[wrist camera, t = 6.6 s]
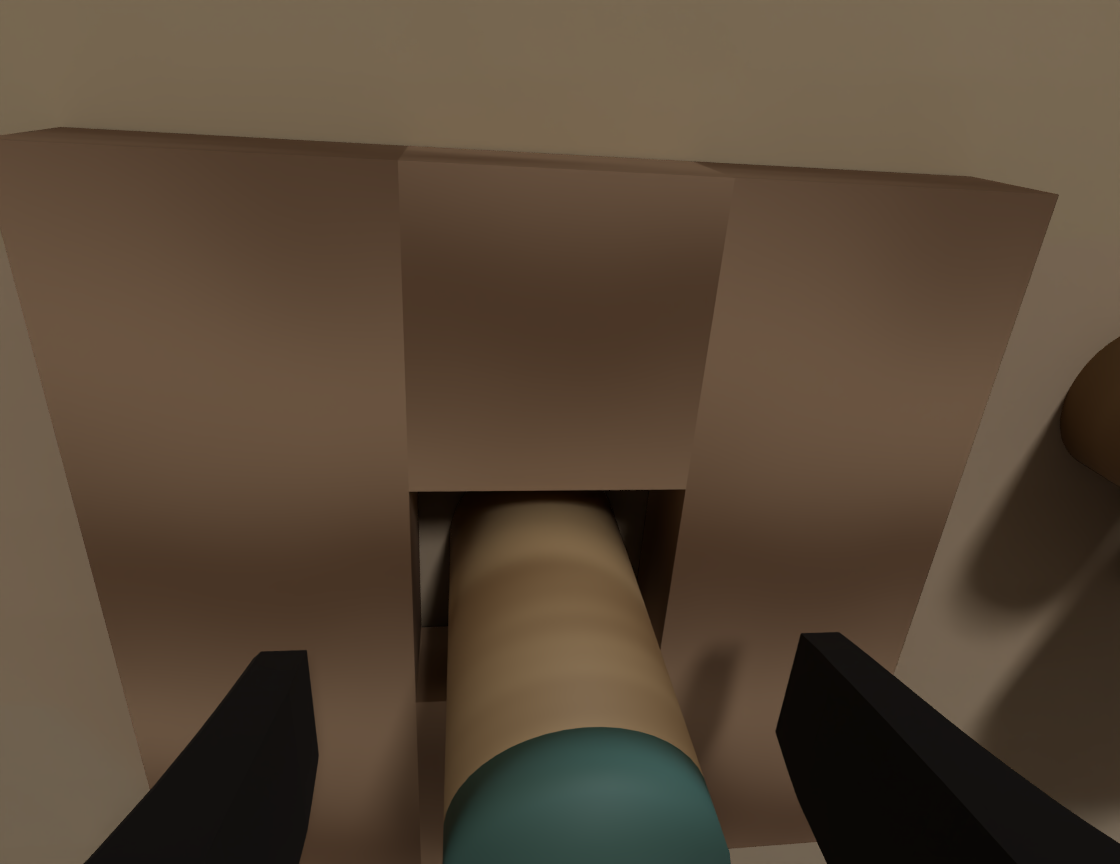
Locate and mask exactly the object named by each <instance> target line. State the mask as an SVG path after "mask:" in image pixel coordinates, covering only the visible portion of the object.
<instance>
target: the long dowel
mask: <svg viewBox="0 0 1120 864" xmlns="http://www.w3.org/2000/svg"><path fill="white" fill-rule="evenodd" d="M442 864H731V863H730V853H729V850H728V847H727V844H726V840H725V838H724V835H723V832H722V829H721V826H720V823H719V820H718V817H717V814H716V811H715V808H714V805H713V803H712V800H711V797H710V794H709V791H708V788H707V785H706V782H705V779H704V776H703V773H702V770H701V767H700V765H699V762H698V759H697V756H696V753H695V750H694V747H693V744H692V741H691V738H690V735H689V732H688V730H687V727H686V724H685V721H684V718H683V715H682V712H681V709H680V706H679V703H678V700H677V697H676V694H675V692H674V689H673V686H672V683H671V680H670V677H669V674H668V671H667V668H666V665H665V662H664V659H663V657H662V654H661V651H660V648H659V645H658V642H657V639H656V636H655V633H654V630H653V627H652V624H651V621H650V619H649V616H648V613H647V610H646V607H645V604H644V601H643V598H642V595H641V592H640V589H639V586H638V584H637V581H636V578H635V575H634V572H633V569H632V566H631V563H630V560H629V557H628V554H627V551H626V548H625V546H624V543H623V540H622V537H621V534H620V531H619V528H618V525H617V522H616V519H615V516H614V513H613V510H612V508H611V505H610V502H609V500H608V498H607V496H606V494H605V493H604V491H603V490H542V491H467V492H466V493H465V494H464V496H463V497H462V499H461V500H460V502H459V504H458V506H457V507H456V510H455V512H454V515H453V519H452V524H451V541H450V581H449V621H448V661H447V701H446V742H445V782H444V822H443V862H442Z"/></svg>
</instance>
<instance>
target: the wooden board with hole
mask: <svg viewBox="0 0 1120 864" xmlns="http://www.w3.org/2000/svg"><path fill="white" fill-rule="evenodd" d="M1058 196H1059V195H1058V194H1053V193H1048V192H1043V191H1039V190H1034V189H1029V188H1024V187H1019V186H1014V185H1009V184H1004V183H1000V182H995V181H990V180H985V179H980V178H975V177H967V176H949V175H931V174H912V173H894V172H876V171H857V170H839V169H820V168H802V167H784V166H765V165H747V164H729V163H710V162H692V161H674V160H655V159H637V158H618V157H600V156H582V155H563V154H545V153H527V152H508V151H490V150H471V149H453V148H435V147H416V146H398V145H380V144H361V143H343V142H325V141H306V140H288V139H269V138H251V137H233V136H214V135H196V134H178V133H159V132H141V131H122V130H104V129H86V128H67V127H58V128H51V129H43V130H36V131H29V132H21V133H14V134H7V135H0V229H1V233H2V237H3V240H4V244H5V248H6V252H7V255H8V259H9V263H10V267H11V270H12V274H13V278H14V282H15V285H16V289H17V293H18V297H19V300H20V304H21V308H22V312H23V315H24V319H25V323H26V327H27V330H28V334H29V338H30V342H31V345H32V349H33V353H34V357H35V360H36V364H37V368H38V372H39V375H40V379H41V383H42V387H43V390H44V394H45V398H46V402H47V405H48V409H49V413H50V417H51V420H52V424H53V428H54V432H55V435H56V439H57V443H58V447H59V450H60V454H61V458H62V462H63V465H64V469H65V473H66V477H67V480H68V484H69V488H70V492H71V495H72V499H73V503H74V507H75V510H76V514H77V518H78V522H79V525H80V529H81V533H82V537H83V540H84V544H85V548H86V552H87V555H88V559H89V563H90V567H91V570H92V574H93V578H94V582H95V585H96V589H97V593H98V597H99V600H100V604H101V608H102V612H103V615H104V619H105V623H106V627H107V630H108V634H109V638H110V641H111V645H112V649H113V653H114V656H115V660H116V664H117V668H118V671H119V675H120V679H121V683H122V686H123V690H124V694H125V698H126V701H127V705H128V709H129V713H130V716H131V720H132V724H133V728H134V731H135V735H136V739H137V743H138V746H139V750H140V754H141V758H142V761H143V765H144V769H145V773H146V776H147V780H148V784H149V788H150V790H151V788H152V787H153V786H154V785H155V784H156V782H157V781H158V780H159V779H160V778H161V776H162V775H163V774H164V773H165V772H166V770H167V769H168V768H169V767H170V765H171V764H172V763H173V762H174V761H175V759H176V758H177V757H178V756H179V755H180V753H181V752H182V751H183V750H184V748H185V747H186V746H187V745H188V744H189V742H190V741H191V740H192V739H193V737H194V736H195V735H196V734H197V732H198V731H199V730H200V729H201V727H202V726H203V725H204V723H205V722H206V721H207V720H208V718H209V717H210V716H211V714H212V713H213V712H214V711H215V709H216V708H217V707H218V705H219V704H220V703H221V701H222V700H223V699H224V697H225V696H226V695H227V693H228V692H229V691H230V689H231V688H232V687H233V685H234V684H235V683H236V681H237V680H238V679H239V677H240V676H241V675H242V673H243V672H244V670H245V669H246V668H247V666H248V665H249V664H250V662H251V661H252V659H253V658H254V657H255V656H256V655H258V654H259V653H260V652H261V651H289V650H307V655H308V664H309V673H310V682H311V690H312V699H313V708H314V716H315V725H316V734H317V743H318V751H319V759H318V766H317V772H316V779H315V786H314V793H313V800H312V806H311V812H310V818H309V824H308V831H307V835H306V839H305V843H304V847H303V851H302V854H301V858H300V862H299V864H442V862H443V822H444V782H445V742H446V701H447V661H448V626H445V627H421V597H420V560H419V523H418V491H542V490H649V495H648V502H647V510H646V518H645V525H644V533H643V540H642V548H641V555H640V563H639V570H638V578H637V584H638V586H639V589H640V592H641V595H642V598H643V601H644V604H645V607H646V610H647V613H648V616H649V619H650V621H651V624H652V627H653V630H654V633H655V636H656V639H657V642H658V645H659V648H660V651H661V654H662V657H663V659H664V662H665V665H666V668H667V671H668V674H669V677H670V680H671V683H672V686H673V689H674V692H675V694H676V697H677V700H678V703H679V706H680V709H681V712H682V715H683V718H684V721H685V724H686V727H687V730H688V732H689V735H690V738H691V741H692V744H693V747H694V750H695V753H696V756H697V759H698V762H699V765H700V767H701V770H702V773H703V776H704V779H705V782H706V785H707V788H708V791H709V794H710V797H711V800H712V803H713V805H714V808H715V811H716V814H717V817H718V820H719V823H720V826H721V829H722V832H723V835H724V838H725V840H726V844H727V847H728V849H730V848H743V847H756V846H769V845H782V844H795V843H808V842H817V841H816V839H815V837H814V834H813V832H812V830H811V828H810V826H809V824H808V821H807V819H806V817H805V815H804V813H803V810H802V808H801V806H800V804H799V802H798V799H797V796H796V794H795V791H794V788H793V785H792V782H791V779H790V776H789V773H788V771H787V768H786V764H785V761H784V758H783V755H782V752H781V749H780V745H779V742H778V739H777V736H776V733H775V730H776V727H777V723H778V719H779V715H780V711H781V707H782V704H783V700H784V696H785V692H786V688H787V684H788V680H789V677H790V673H791V669H792V665H793V661H794V657H795V654H796V650H797V646H798V642H799V638H800V634H801V633H822V632H840V633H841V634H842V635H844V636H845V637H846V638H848V639H849V640H850V641H852V642H853V643H854V644H855V645H857V646H858V647H859V648H860V649H862V650H863V651H864V652H865V653H867V654H868V655H869V656H870V657H872V658H873V659H874V660H875V661H877V662H878V663H879V664H880V665H881V666H883V667H884V668H885V669H886V670H888V671H889V672H890V673H891V674H892V675H893V674H894V671H895V668H896V665H897V663H898V660H899V657H900V654H901V651H902V648H903V645H904V642H905V639H906V636H907V634H908V631H909V628H910V625H911V622H912V619H913V616H914V613H915V610H916V608H917V605H918V602H919V599H920V596H921V593H922V590H923V587H924V584H925V581H926V579H927V576H928V573H929V570H930V567H931V564H932V561H933V558H934V555H935V552H936V550H937V547H938V544H939V541H940V538H941V535H942V532H943V529H944V526H945V523H946V521H947V518H948V515H949V512H950V509H951V506H952V503H953V500H954V497H955V494H956V492H957V489H958V486H959V483H960V480H961V477H962V474H963V471H964V468H965V466H966V463H967V460H968V457H969V454H970V451H971V448H972V445H973V442H974V439H975V437H976V434H977V431H978V428H979V425H980V422H981V419H982V416H983V413H984V410H985V408H986V405H987V402H988V399H989V396H990V393H991V390H992V387H993V384H994V381H995V379H996V376H997V373H998V370H999V367H1000V364H1001V361H1002V358H1003V355H1004V353H1005V350H1006V347H1007V344H1008V341H1009V338H1010V335H1011V332H1012V329H1013V326H1014V324H1015V321H1016V318H1017V315H1018V312H1019V309H1020V306H1021V303H1022V300H1023V297H1024V295H1025V292H1026V289H1027V286H1028V283H1029V280H1030V277H1031V274H1032V271H1033V268H1034V266H1035V263H1036V260H1037V257H1038V254H1039V251H1040V248H1041V245H1042V242H1043V239H1044V237H1045V234H1046V231H1047V228H1048V225H1049V222H1050V219H1051V216H1052V213H1053V211H1054V208H1055V205H1056V202H1057V199H1058Z"/></svg>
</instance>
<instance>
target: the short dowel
mask: <svg viewBox="0 0 1120 864" xmlns="http://www.w3.org/2000/svg"><path fill="white" fill-rule="evenodd" d="M1060 430H1061V436H1062V440H1063V443H1064V445H1065V447H1066V449H1067V450H1068V452H1069V453H1070V454H1071V455H1072V456H1073V457H1074V458H1075V459H1076V460H1078V461H1079V462H1081V463H1082V464H1084V465H1086V466H1087V467H1089V468H1090V469H1092V470H1093V471H1095V472H1097V473H1098V474H1100V475H1101V476H1103V477H1105V478H1106V479H1108V480H1109V481H1111V482H1112V483H1114V484H1116V485H1117V486H1119V487H1120V337H1118V338H1117V339H1115V340H1114V341H1112V342H1111V343H1109V344H1108V345H1107V346H1105V347H1104V348H1103V349H1102V350H1100V351H1099V352H1098V353H1097V354H1096V355H1095V356H1094V357H1093V358H1092V359H1091V360H1090V361H1089V362H1088V363H1087V364H1086V366H1085V367H1084V368H1083V369H1082V370H1081V372H1080V373H1079V375H1078V376H1077V377H1076V379H1075V381H1074V382H1073V384H1072V386H1071V387H1070V389H1069V392H1068V394H1067V396H1066V398H1065V401H1064V404H1063V408H1062V413H1061V419H1060Z"/></svg>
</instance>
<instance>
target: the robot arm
mask: <svg viewBox="0 0 1120 864" xmlns="http://www.w3.org/2000/svg"><path fill="white" fill-rule="evenodd" d="M775 733H776V736H777V739H778V742H779V745H780V749H781V752H782V755H783V758H784V761H785V764H786V768H787V771H788V773H789V776H790V779H791V782H792V785H793V788H794V791H795V794H796V796H797V799H798V802H799V804H800V806H801V808H802V810H803V813H804V815H805V817H806V819H807V821H808V824H809V826H810V828H811V830H812V832H813V834H814V837H815V839H816V841H817V843H818V845H819V847H820V849H821V852H822V854H823V856H824V858H825V860H826V862H827V864H1120V844H1119V843H1118V842H1116V841H1115V840H1113V839H1112V838H1110V837H1109V836H1107V835H1106V834H1104V833H1102V832H1101V831H1099V830H1098V829H1096V828H1095V827H1093V826H1092V825H1090V824H1089V823H1087V822H1086V821H1084V820H1083V819H1081V818H1080V817H1078V816H1077V815H1075V814H1074V813H1072V812H1071V811H1070V810H1068V809H1067V808H1065V807H1064V806H1062V805H1061V804H1059V803H1058V802H1057V801H1055V800H1054V799H1052V798H1051V797H1050V796H1048V795H1047V794H1045V793H1044V792H1043V791H1041V790H1040V789H1039V788H1037V787H1036V786H1034V785H1033V784H1032V783H1030V782H1029V781H1028V780H1026V779H1025V778H1023V777H1022V776H1021V775H1019V774H1018V773H1017V772H1015V771H1014V770H1012V769H1011V768H1010V767H1008V766H1007V765H1006V764H1004V763H1003V762H1002V761H1000V760H999V759H998V758H996V757H995V756H994V755H992V754H991V753H990V752H989V751H987V750H986V749H985V748H983V747H982V746H981V745H979V744H978V743H977V742H976V741H974V740H973V739H972V738H970V737H969V736H968V735H967V734H965V733H964V732H963V731H961V730H960V729H959V728H958V727H956V726H955V725H954V724H953V723H951V722H950V721H949V720H948V719H946V718H945V717H944V716H943V715H941V714H940V713H939V712H938V711H936V710H935V709H934V708H933V707H932V706H930V705H929V704H928V703H927V702H925V701H924V700H923V699H922V698H920V697H919V696H918V695H917V694H916V693H914V692H913V691H912V690H911V689H909V688H908V687H907V686H906V685H905V684H903V683H902V682H901V681H900V680H898V679H897V678H896V677H895V676H894V675H892V674H891V673H890V672H889V671H888V670H886V669H885V668H884V667H883V666H881V665H880V664H879V663H878V662H877V661H875V660H874V659H873V658H872V657H870V656H869V655H868V654H867V653H865V652H864V651H863V650H862V649H860V648H859V647H858V646H857V645H855V644H854V643H853V642H852V641H850V640H849V639H848V638H846V637H845V636H844V635H842V634H841V633H840V632H822V633H801V634H800V638H799V642H798V646H797V650H796V654H795V657H794V661H793V665H792V669H791V673H790V677H789V680H788V684H787V688H786V692H785V696H784V700H783V704H782V707H781V711H780V715H779V719H778V723H777V727H776V730H775ZM318 759H319V751H318V743H317V734H316V725H315V716H314V708H313V699H312V690H311V682H310V673H309V664H308V655H307V650H289V651H261V652H260V653H259V654H258V655H256V656H255V657H254V658H253V659H252V661H251V662H250V664H249V665H248V666H247V668H246V669H245V670H244V672H243V673H242V675H241V676H240V677H239V679H238V680H237V681H236V683H235V684H234V685H233V687H232V688H231V689H230V691H229V692H228V693H227V695H226V696H225V697H224V699H223V700H222V701H221V703H220V704H219V705H218V707H217V708H216V709H215V711H214V712H213V713H212V714H211V716H210V717H209V718H208V720H207V721H206V722H205V723H204V725H203V726H202V727H201V729H200V730H199V731H198V732H197V734H196V735H195V736H194V737H193V739H192V740H191V741H190V742H189V744H188V745H187V746H186V747H185V748H184V750H183V751H182V752H181V753H180V755H179V756H178V757H177V758H176V759H175V761H174V762H173V763H172V764H171V765H170V767H169V768H168V769H167V770H166V772H165V773H164V774H163V775H162V776H161V778H160V779H159V780H158V781H157V782H156V784H155V785H154V786H153V787H152V788H151V790H150V791H149V792H148V793H147V794H146V795H145V797H144V798H143V799H142V800H141V801H140V802H139V803H138V804H137V805H136V807H135V808H134V809H133V810H132V811H131V812H130V813H129V814H128V815H127V817H126V818H125V819H124V820H123V821H122V822H121V823H120V824H119V826H118V827H117V828H116V829H115V830H114V831H113V832H112V833H111V834H110V836H109V837H108V838H107V839H106V840H105V841H104V842H103V843H102V844H101V846H100V847H99V848H98V849H97V850H96V851H95V852H94V853H93V854H92V855H91V857H90V858H89V859H88V860H87V861H86V862H85V863H84V864H299V862H300V858H301V854H302V851H303V847H304V843H305V839H306V835H307V831H308V824H309V818H310V812H311V806H312V800H313V793H314V786H315V779H316V772H317V766H318Z"/></svg>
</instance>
